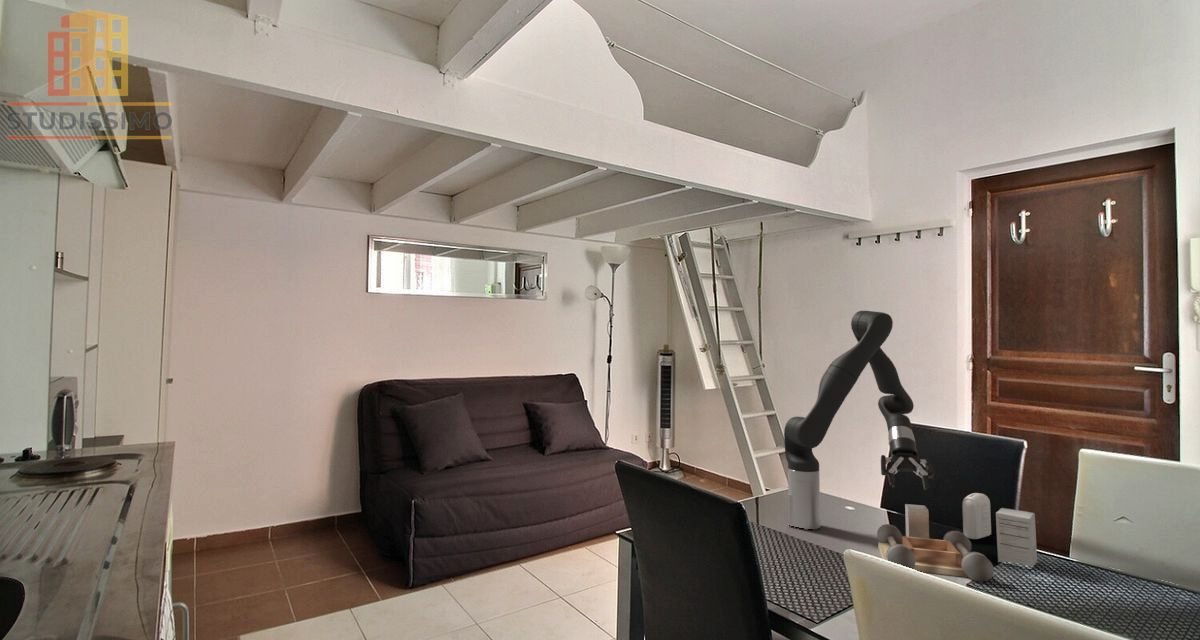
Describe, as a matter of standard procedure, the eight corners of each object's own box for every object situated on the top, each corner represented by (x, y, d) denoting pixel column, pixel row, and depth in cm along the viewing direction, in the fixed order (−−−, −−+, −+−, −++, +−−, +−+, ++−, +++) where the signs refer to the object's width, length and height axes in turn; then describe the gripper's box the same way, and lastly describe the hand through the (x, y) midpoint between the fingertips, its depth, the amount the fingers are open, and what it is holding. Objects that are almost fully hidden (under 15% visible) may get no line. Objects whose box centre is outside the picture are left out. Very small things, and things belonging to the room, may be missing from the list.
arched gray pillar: (977, 531, 171) (975, 490, 172) (993, 535, 168) (991, 492, 169) (961, 537, 166) (959, 494, 167) (977, 541, 162) (975, 496, 163)
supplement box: (1003, 556, 149) (1001, 507, 150) (1038, 563, 144) (1035, 512, 145) (996, 562, 144) (994, 512, 145) (1033, 570, 139) (1030, 518, 140)
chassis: (888, 570, 138) (887, 545, 138) (877, 545, 157) (876, 523, 158) (994, 583, 130) (993, 556, 131) (969, 555, 150) (968, 531, 150)
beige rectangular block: (909, 544, 158) (908, 508, 159) (906, 539, 163) (905, 504, 164) (929, 546, 156) (928, 509, 157) (925, 541, 161) (924, 505, 162)
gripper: (878, 435, 182) (884, 478, 170) (928, 437, 177) (938, 482, 165) (876, 449, 186) (882, 492, 175) (925, 452, 182) (935, 496, 170)
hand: (909, 487), depth 170 cm, fingers open, 8 cm apart
